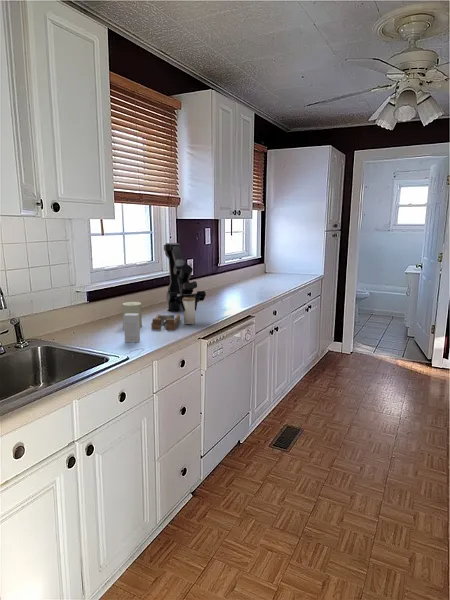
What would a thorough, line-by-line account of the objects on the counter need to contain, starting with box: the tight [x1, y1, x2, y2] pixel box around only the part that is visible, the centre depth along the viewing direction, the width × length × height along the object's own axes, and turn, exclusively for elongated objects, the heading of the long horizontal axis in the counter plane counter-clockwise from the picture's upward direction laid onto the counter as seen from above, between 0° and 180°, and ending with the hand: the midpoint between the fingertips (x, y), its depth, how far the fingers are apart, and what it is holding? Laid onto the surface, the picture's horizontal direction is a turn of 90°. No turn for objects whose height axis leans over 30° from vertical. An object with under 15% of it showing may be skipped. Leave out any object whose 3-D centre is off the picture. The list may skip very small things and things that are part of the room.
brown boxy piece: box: [150, 313, 181, 331], centre depth 209 cm, size 20×11×5 cm, turn 0°
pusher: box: [157, 314, 175, 325], centre depth 206 cm, size 8×8×4 cm
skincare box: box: [123, 313, 141, 343], centre depth 180 cm, size 6×4×12 cm
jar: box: [182, 296, 196, 325], centre depth 210 cm, size 6×6×13 cm
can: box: [122, 301, 143, 328], centre depth 204 cm, size 9×9×12 cm
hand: (190, 310), depth 208 cm, fingers closed on jar, 6 cm apart
